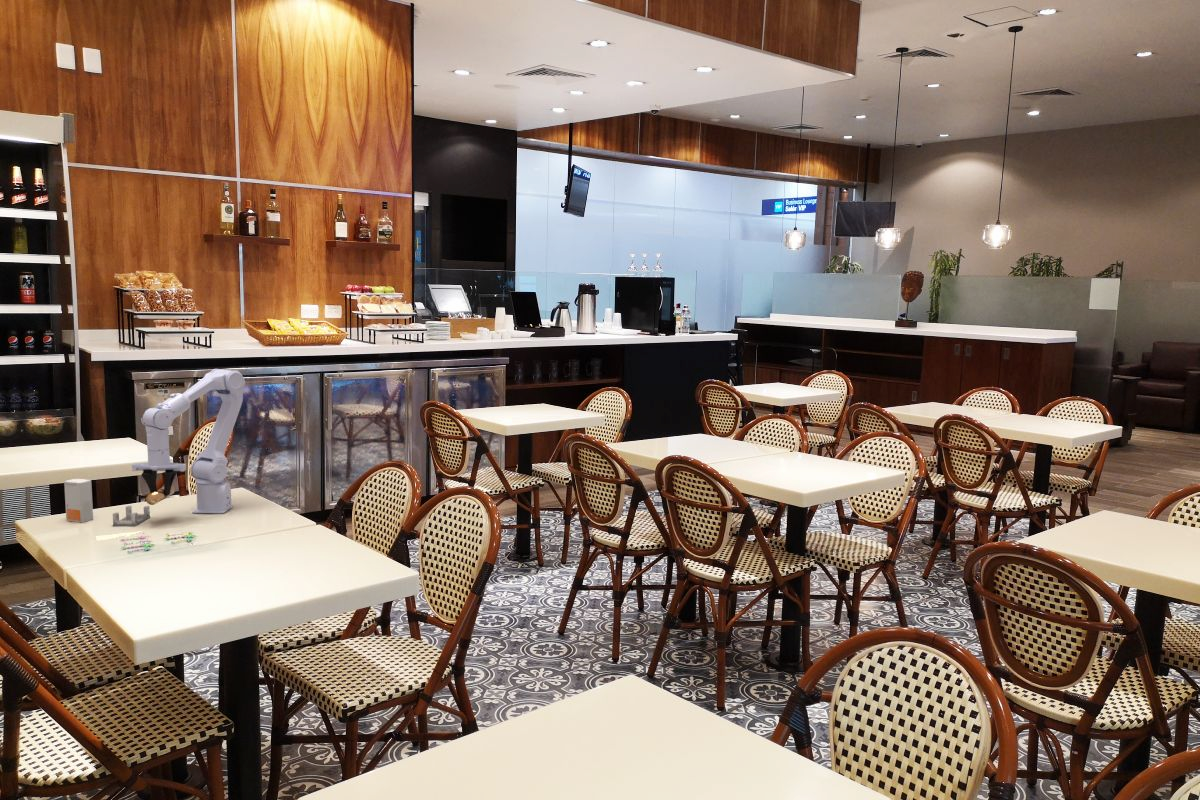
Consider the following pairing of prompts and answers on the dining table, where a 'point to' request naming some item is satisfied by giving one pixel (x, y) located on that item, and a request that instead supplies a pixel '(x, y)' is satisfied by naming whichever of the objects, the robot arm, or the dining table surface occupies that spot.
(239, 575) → the dining table surface
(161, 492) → the tube
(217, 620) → the dining table surface
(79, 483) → the skincare box
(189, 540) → the clear flat square panel
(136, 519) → the cradle
